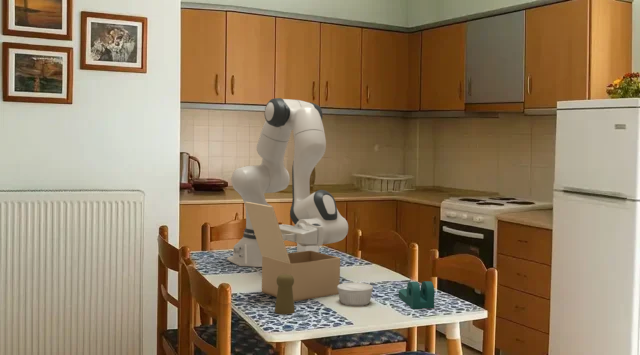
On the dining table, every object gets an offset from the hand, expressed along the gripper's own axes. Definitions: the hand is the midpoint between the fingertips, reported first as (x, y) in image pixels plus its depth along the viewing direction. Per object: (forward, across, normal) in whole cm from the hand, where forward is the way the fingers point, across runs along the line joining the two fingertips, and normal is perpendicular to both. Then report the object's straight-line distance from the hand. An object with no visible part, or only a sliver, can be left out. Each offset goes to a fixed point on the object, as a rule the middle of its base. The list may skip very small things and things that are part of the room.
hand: (271, 235), depth 226 cm
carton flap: (+2, 0, -1) cm, 2 cm away
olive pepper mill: (+6, +16, +20) cm, 27 cm away
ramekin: (-19, +19, +20) cm, 34 cm away
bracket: (-36, +29, +20) cm, 50 cm away
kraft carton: (-12, 0, +20) cm, 23 cm away
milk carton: (-60, -58, +20) cm, 86 cm away
